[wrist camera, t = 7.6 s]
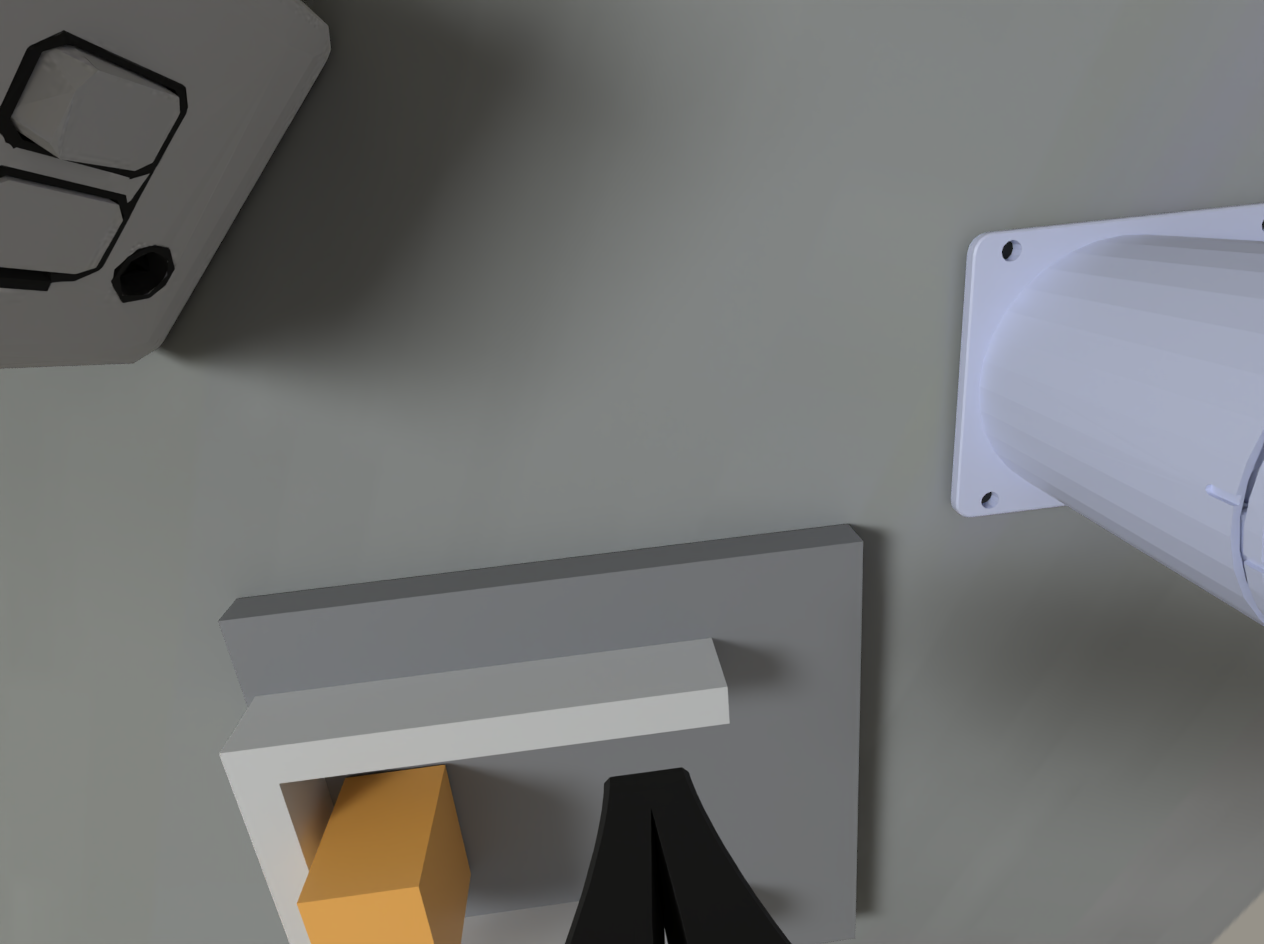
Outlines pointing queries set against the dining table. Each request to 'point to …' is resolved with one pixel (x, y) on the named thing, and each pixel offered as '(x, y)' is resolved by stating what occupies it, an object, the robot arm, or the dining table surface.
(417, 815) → the block
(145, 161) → the electrical switch
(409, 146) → the dining table surface
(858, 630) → the grey tray
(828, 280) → the dining table surface
